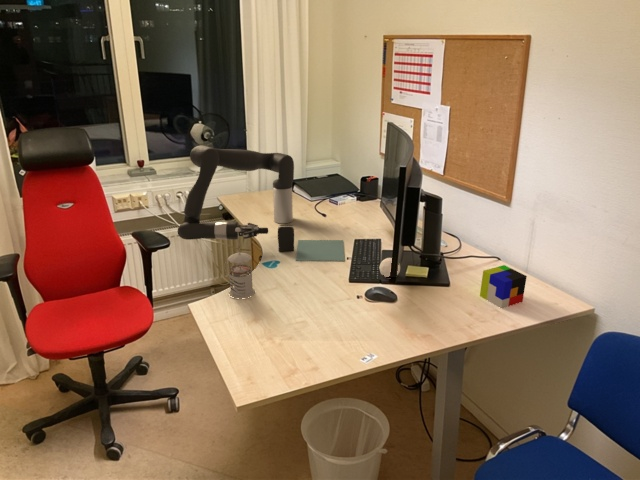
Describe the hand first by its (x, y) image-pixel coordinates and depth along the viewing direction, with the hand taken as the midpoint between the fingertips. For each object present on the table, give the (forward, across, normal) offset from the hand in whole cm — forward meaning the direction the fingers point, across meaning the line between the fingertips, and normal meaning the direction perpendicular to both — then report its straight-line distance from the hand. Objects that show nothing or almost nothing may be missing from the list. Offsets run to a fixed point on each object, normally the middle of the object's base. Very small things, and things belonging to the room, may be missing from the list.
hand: (267, 230), depth 215 cm
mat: (+22, 0, +9) cm, 24 cm away
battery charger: (+8, 0, +9) cm, 12 cm away
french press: (-6, -38, +9) cm, 40 cm away
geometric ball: (+49, -25, +9) cm, 55 cm away
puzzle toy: (+86, -42, +9) cm, 96 cm away
